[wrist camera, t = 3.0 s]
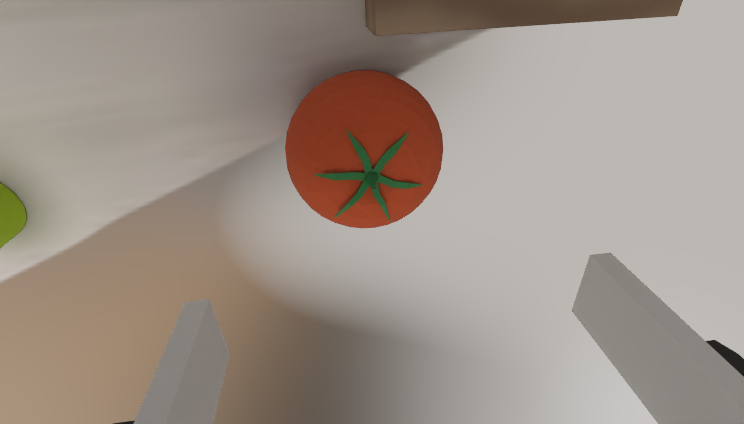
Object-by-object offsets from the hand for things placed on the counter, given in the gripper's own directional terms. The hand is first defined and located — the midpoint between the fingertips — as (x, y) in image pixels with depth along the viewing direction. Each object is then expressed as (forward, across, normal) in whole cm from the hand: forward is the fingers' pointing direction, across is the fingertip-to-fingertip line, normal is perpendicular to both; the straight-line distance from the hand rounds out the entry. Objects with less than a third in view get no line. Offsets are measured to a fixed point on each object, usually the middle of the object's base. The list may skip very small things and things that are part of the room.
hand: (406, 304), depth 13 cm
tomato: (+18, 0, 0) cm, 19 cm away
